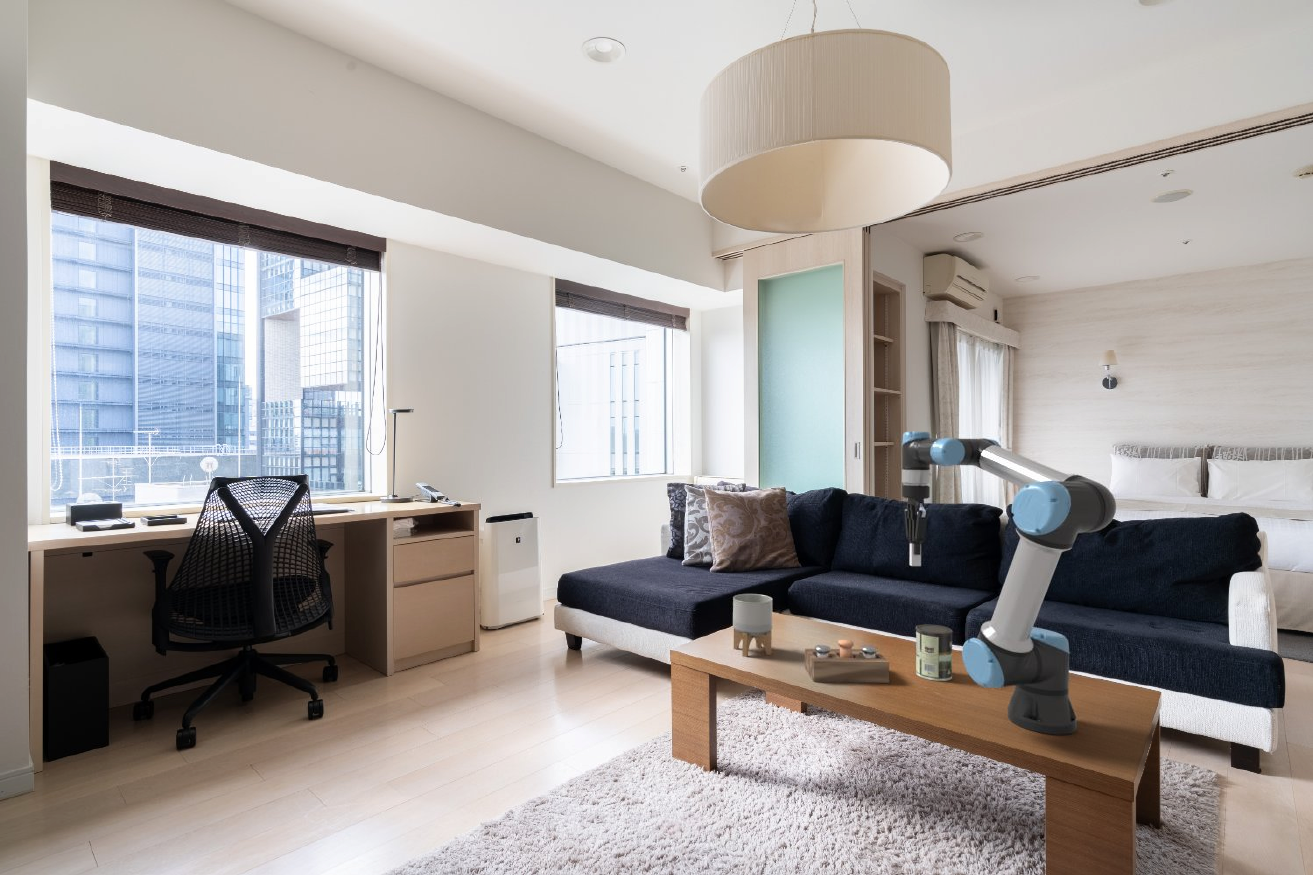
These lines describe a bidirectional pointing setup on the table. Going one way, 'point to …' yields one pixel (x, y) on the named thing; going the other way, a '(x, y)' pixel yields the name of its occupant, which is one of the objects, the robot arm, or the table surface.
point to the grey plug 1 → (822, 650)
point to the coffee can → (934, 652)
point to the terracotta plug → (845, 648)
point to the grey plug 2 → (868, 651)
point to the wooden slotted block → (846, 667)
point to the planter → (752, 621)
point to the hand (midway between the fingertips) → (915, 565)
